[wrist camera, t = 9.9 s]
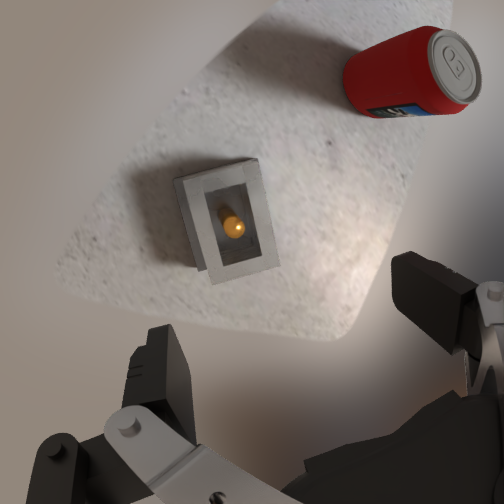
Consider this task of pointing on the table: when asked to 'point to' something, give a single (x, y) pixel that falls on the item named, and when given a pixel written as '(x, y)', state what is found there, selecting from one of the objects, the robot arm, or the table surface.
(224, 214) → the grey peg base
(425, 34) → the beverage can
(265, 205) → the silver frame
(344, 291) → the table surface
